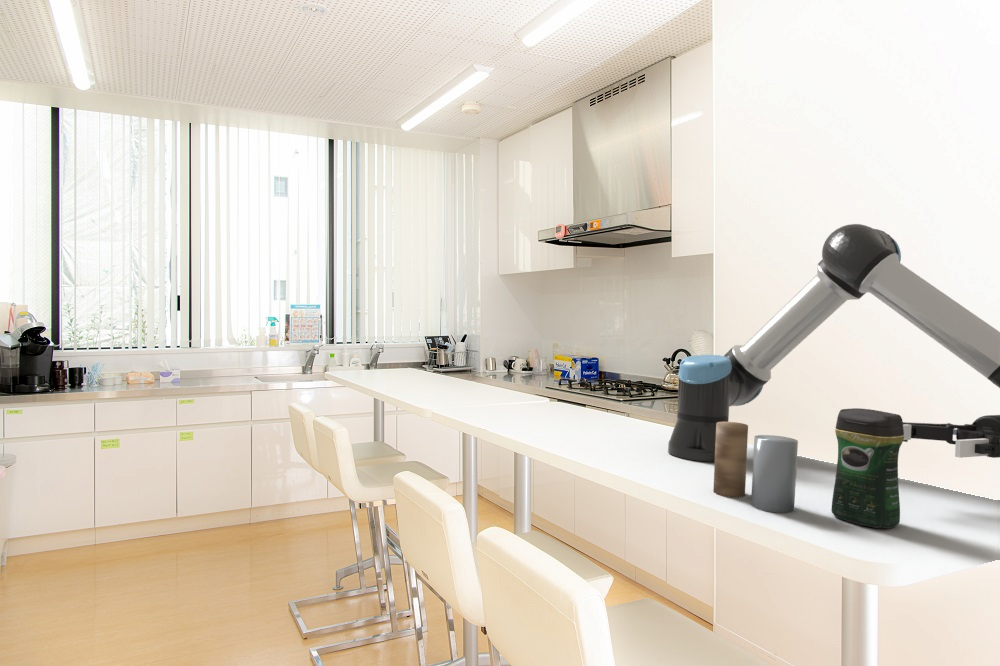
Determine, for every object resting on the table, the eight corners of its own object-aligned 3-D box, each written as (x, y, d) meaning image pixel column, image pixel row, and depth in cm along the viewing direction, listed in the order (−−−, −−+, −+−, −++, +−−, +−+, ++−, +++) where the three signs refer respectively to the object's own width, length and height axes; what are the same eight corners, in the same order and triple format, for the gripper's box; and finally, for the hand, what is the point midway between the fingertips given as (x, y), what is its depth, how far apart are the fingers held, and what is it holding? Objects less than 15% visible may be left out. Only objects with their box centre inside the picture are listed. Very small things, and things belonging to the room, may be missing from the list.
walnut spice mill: (707, 489, 124) (710, 422, 123) (731, 488, 126) (734, 421, 125) (726, 498, 119) (729, 427, 118) (751, 496, 120) (754, 426, 120)
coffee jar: (907, 526, 106) (914, 412, 105) (880, 533, 102) (887, 415, 101) (849, 509, 114) (855, 404, 114) (822, 515, 110) (828, 406, 109)
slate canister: (742, 502, 116) (745, 435, 116) (773, 499, 119) (777, 434, 118) (770, 514, 110) (774, 443, 109) (803, 511, 112) (807, 442, 112)
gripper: (1083, 472, 106) (993, 480, 99) (936, 442, 130) (855, 447, 123) (1086, 426, 106) (995, 431, 99) (938, 405, 129) (856, 408, 122)
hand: (917, 440), depth 111 cm, fingers open, 13 cm apart
